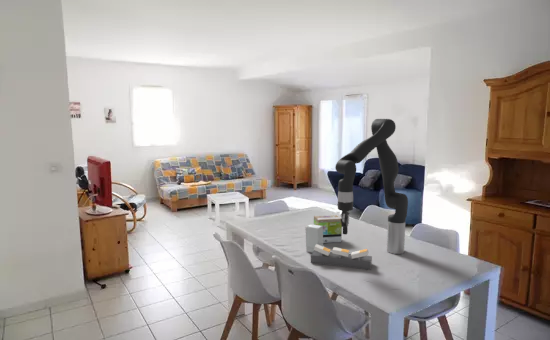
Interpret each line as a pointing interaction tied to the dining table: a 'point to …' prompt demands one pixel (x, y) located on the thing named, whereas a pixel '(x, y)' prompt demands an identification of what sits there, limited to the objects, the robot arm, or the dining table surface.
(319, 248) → the block
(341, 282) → the dining table surface
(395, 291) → the dining table surface
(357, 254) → the block
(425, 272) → the dining table surface
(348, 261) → the power strip
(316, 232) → the skincare box
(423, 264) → the dining table surface
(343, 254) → the block
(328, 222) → the tea box
